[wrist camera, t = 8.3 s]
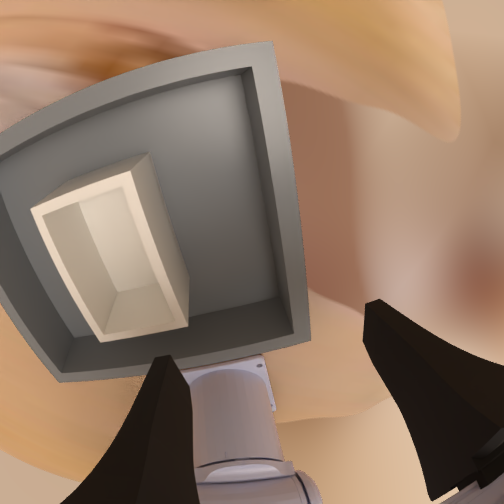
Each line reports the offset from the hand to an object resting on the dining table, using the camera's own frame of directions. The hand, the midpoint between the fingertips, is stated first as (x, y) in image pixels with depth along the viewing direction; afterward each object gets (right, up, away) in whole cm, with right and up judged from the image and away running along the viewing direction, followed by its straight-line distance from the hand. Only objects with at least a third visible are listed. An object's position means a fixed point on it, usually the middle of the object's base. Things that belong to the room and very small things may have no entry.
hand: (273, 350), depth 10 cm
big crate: (-8, +5, +7) cm, 12 cm away
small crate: (-8, +5, +6) cm, 11 cm away
